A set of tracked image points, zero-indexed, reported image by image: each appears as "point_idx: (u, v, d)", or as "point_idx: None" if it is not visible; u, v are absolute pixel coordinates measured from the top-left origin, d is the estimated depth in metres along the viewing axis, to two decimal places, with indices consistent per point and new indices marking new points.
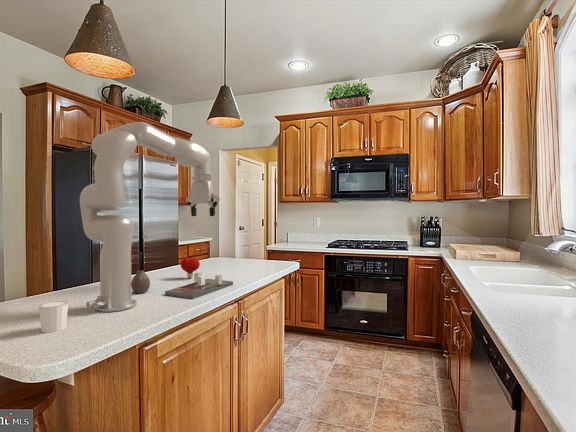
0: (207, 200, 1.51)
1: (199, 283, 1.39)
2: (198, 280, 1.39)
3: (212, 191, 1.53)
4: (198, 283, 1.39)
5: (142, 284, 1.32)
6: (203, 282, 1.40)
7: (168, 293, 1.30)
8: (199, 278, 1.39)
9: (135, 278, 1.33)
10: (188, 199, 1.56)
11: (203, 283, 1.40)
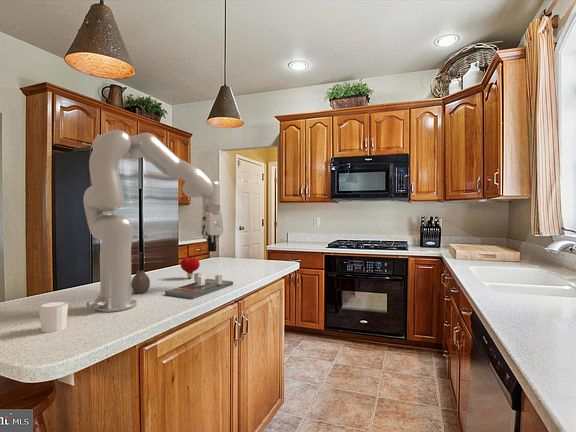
0: (222, 231, 1.48)
1: (199, 283, 1.39)
2: (198, 280, 1.39)
3: None
4: (198, 283, 1.39)
5: (142, 284, 1.32)
6: (203, 282, 1.40)
7: (168, 293, 1.30)
8: (199, 278, 1.39)
9: (135, 278, 1.33)
10: (206, 236, 1.42)
11: (203, 283, 1.40)
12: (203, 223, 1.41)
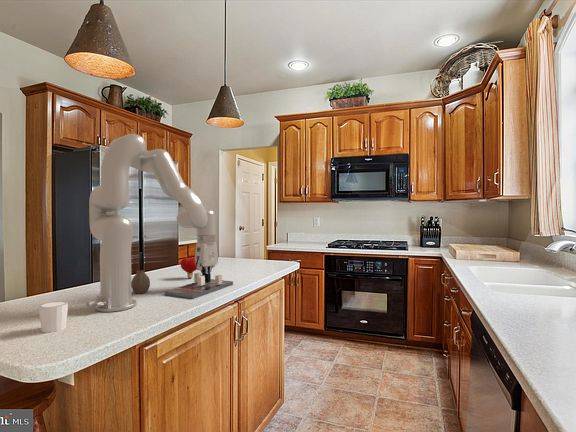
0: (217, 261, 1.45)
1: (199, 283, 1.39)
2: (198, 280, 1.39)
3: None
4: (198, 283, 1.39)
5: (142, 284, 1.32)
6: (203, 282, 1.40)
7: (168, 293, 1.30)
8: (199, 278, 1.38)
9: (135, 278, 1.33)
10: (200, 267, 1.39)
11: (203, 284, 1.40)
12: (197, 254, 1.38)
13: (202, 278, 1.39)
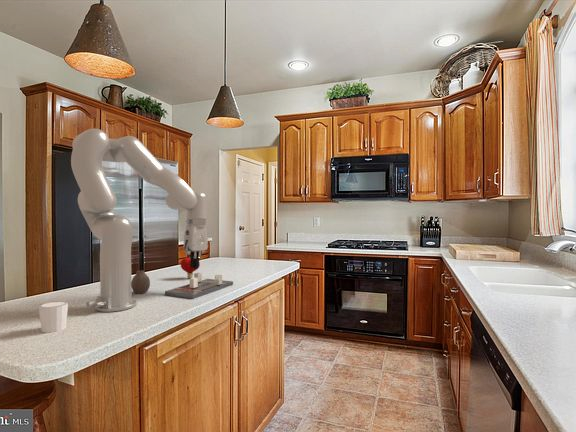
0: (207, 247, 1.39)
1: (191, 285, 1.34)
2: (190, 282, 1.35)
3: None
4: (190, 285, 1.35)
5: (142, 284, 1.32)
6: (196, 284, 1.35)
7: (168, 293, 1.30)
8: (191, 280, 1.34)
9: (135, 278, 1.33)
10: (189, 251, 1.33)
11: (196, 286, 1.36)
12: (186, 238, 1.32)
13: (195, 280, 1.35)
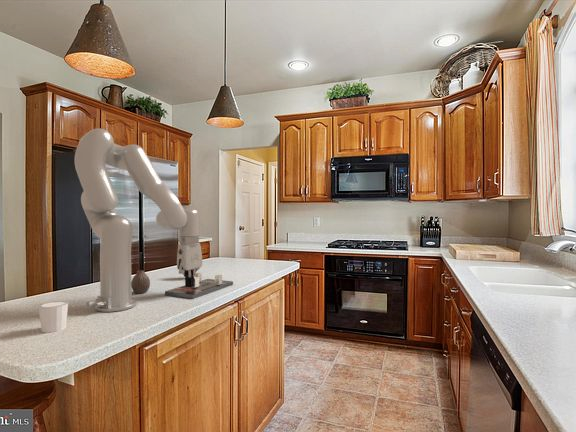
0: (201, 264, 1.36)
1: None
2: None
3: None
4: None
5: (142, 284, 1.32)
6: (197, 284, 1.36)
7: (168, 293, 1.30)
8: None
9: (135, 278, 1.33)
10: (183, 270, 1.29)
11: (197, 285, 1.36)
12: (179, 257, 1.29)
13: (196, 280, 1.36)
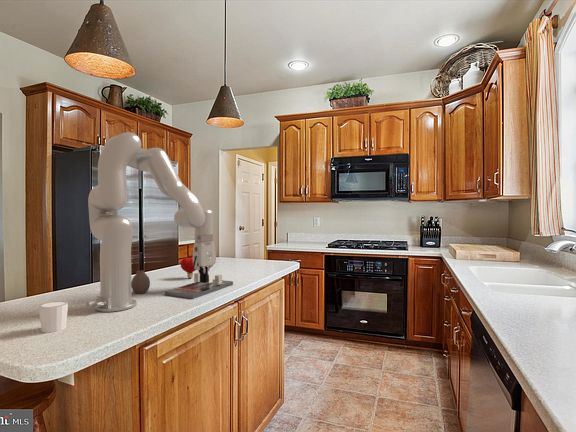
0: (215, 261, 1.44)
1: None
2: None
3: None
4: None
5: (142, 284, 1.32)
6: (211, 280, 1.44)
7: (168, 293, 1.30)
8: None
9: (135, 278, 1.33)
10: (198, 267, 1.37)
11: (211, 281, 1.44)
12: (195, 254, 1.37)
13: (210, 276, 1.44)
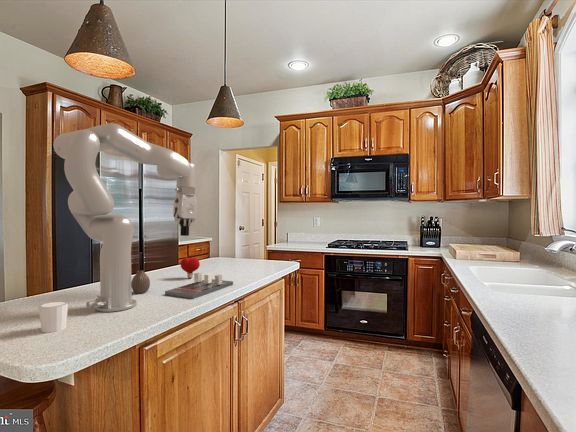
0: (196, 216, 1.44)
1: (206, 281, 1.43)
2: (205, 278, 1.43)
3: None
4: (205, 281, 1.43)
5: (142, 284, 1.32)
6: (210, 280, 1.44)
7: (168, 293, 1.30)
8: (206, 276, 1.43)
9: (135, 278, 1.33)
10: (178, 218, 1.37)
11: (210, 281, 1.44)
12: (175, 205, 1.37)
13: (209, 276, 1.43)
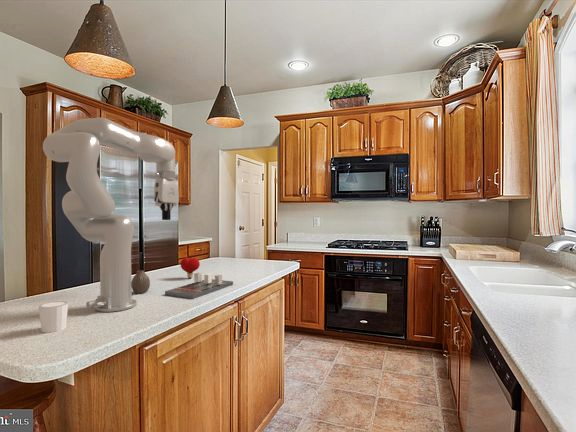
0: (178, 200, 1.44)
1: (206, 281, 1.43)
2: (205, 278, 1.43)
3: None
4: (205, 281, 1.43)
5: (142, 284, 1.32)
6: (210, 280, 1.44)
7: (168, 293, 1.30)
8: (206, 276, 1.43)
9: (135, 278, 1.33)
10: (159, 203, 1.38)
11: (210, 281, 1.44)
12: (156, 190, 1.37)
13: (209, 276, 1.43)
